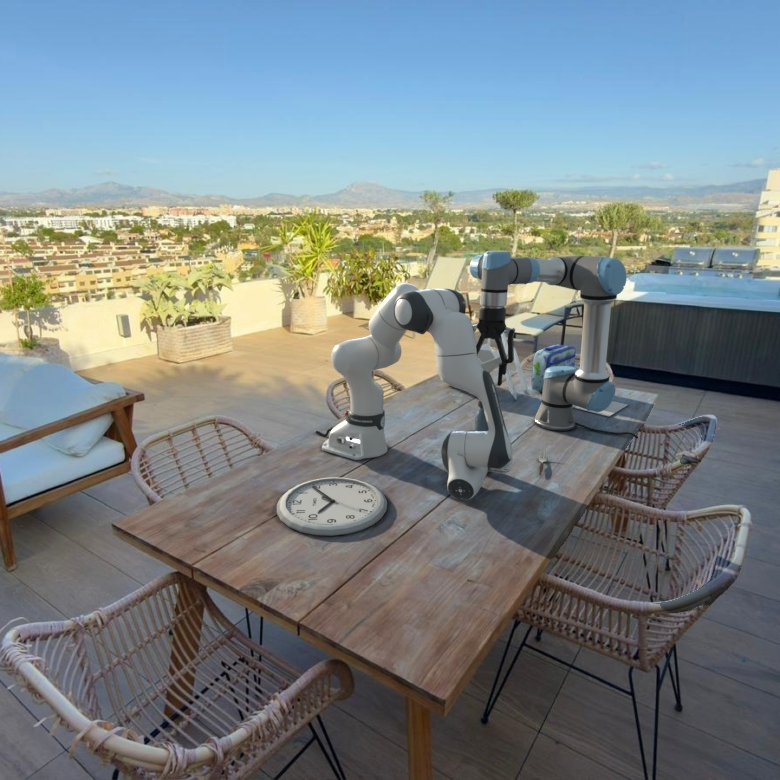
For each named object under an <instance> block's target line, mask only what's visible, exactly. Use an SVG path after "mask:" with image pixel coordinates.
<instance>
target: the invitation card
mask: <svg viewBox="0 0 780 780" xmlns="http://www.w3.org/2000/svg"><path fill="white" fill-rule="evenodd" d="M628 406H629V404H627V403H623V402H618V401H614V400H612V402H611V403H610V405H609V406H608V407H607V408H606V409H605V410H603V411H601V412H594V411H589V410H587V409H584V408H581V407H578V406H574V407H573V409H575V410H581V411H584V412H587V413H593V414H596V415H600V416H604V417H608V418H609V417H611V416H613V415H614V414H616V413H617V412H619V411H621V410H623V409H624V408H626V407H628Z"/></svg>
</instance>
